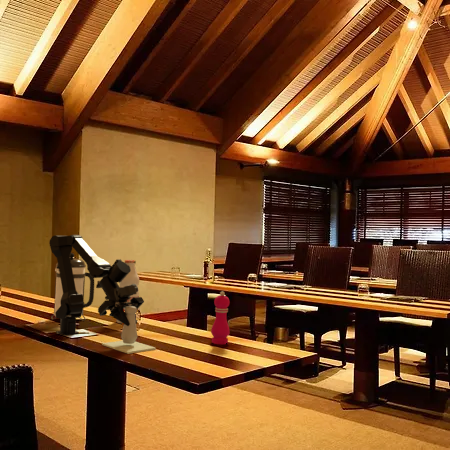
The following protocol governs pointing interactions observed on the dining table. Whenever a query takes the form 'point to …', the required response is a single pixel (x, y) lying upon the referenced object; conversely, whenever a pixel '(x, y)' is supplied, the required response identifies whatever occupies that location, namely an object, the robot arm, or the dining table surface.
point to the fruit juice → (130, 279)
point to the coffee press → (79, 280)
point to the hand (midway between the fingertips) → (132, 324)
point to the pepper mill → (221, 320)
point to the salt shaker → (130, 326)
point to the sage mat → (128, 347)
